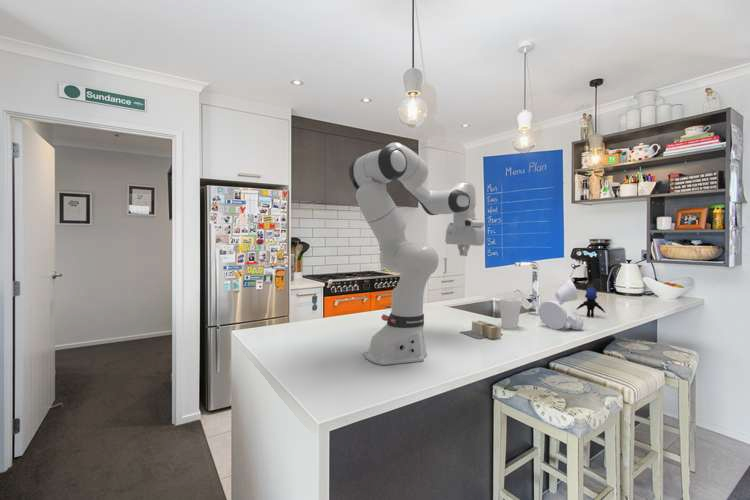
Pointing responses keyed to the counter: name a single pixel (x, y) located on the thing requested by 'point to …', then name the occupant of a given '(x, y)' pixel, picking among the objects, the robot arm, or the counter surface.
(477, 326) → the block
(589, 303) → the toy
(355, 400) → the counter surface
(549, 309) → the light fixture
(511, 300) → the foam cup
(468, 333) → the mat
